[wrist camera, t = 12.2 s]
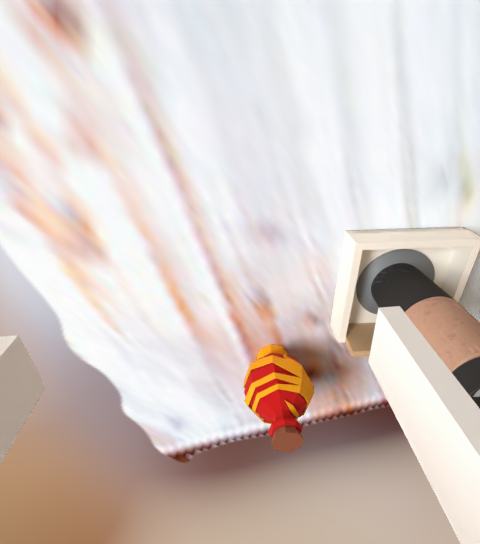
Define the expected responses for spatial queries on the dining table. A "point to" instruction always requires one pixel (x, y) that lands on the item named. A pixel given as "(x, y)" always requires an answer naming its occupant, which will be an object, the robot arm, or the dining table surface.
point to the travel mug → (434, 319)
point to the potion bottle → (279, 395)
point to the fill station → (387, 251)
